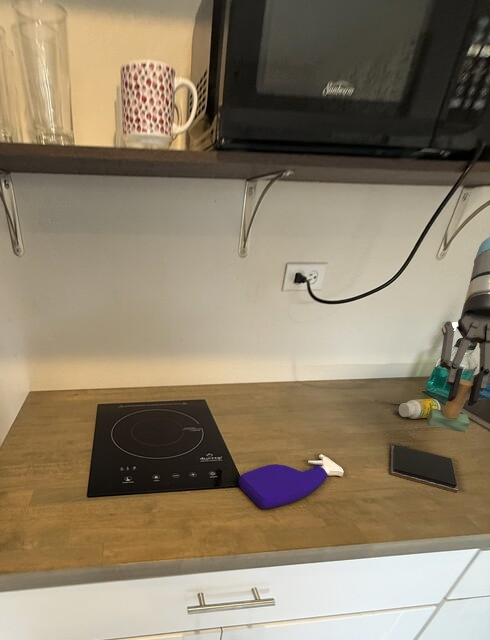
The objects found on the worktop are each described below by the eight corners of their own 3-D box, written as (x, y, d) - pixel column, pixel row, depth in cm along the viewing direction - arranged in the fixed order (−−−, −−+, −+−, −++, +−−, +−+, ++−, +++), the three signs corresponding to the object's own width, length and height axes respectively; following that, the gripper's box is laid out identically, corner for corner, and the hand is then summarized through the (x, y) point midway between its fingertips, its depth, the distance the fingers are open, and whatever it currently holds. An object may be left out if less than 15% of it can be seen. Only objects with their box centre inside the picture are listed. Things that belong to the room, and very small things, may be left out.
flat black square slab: (450, 463, 93) (453, 457, 92) (456, 493, 83) (460, 486, 83) (390, 448, 97) (392, 443, 96) (389, 474, 88) (392, 468, 87)
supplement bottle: (426, 397, 113) (397, 399, 111) (442, 399, 108) (412, 401, 106) (424, 415, 114) (395, 417, 113) (439, 418, 109) (410, 421, 108)
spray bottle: (267, 503, 74) (356, 473, 84) (234, 471, 83) (319, 447, 92) (264, 515, 76) (352, 483, 86) (232, 482, 84) (316, 457, 94)
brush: (462, 424, 87) (483, 381, 82) (465, 432, 84) (486, 389, 79) (427, 417, 90) (444, 375, 84) (428, 425, 87) (446, 382, 81)
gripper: (449, 287, 83) (423, 385, 80) (542, 297, 78) (519, 404, 74) (437, 306, 90) (412, 398, 87) (522, 317, 84) (499, 416, 81)
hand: (461, 400), depth 80 cm, fingers closed on brush, 3 cm apart
